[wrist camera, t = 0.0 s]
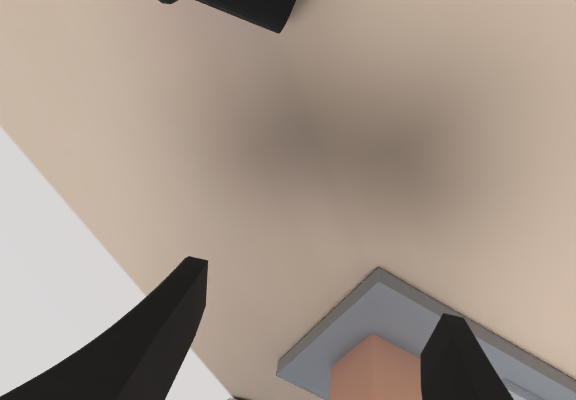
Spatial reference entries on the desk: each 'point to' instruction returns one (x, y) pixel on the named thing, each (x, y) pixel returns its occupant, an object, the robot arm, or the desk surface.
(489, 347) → the board
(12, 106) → the desk surface
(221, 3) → the toy
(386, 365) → the block
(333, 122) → the desk surface
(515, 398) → the locating frame
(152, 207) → the desk surface
